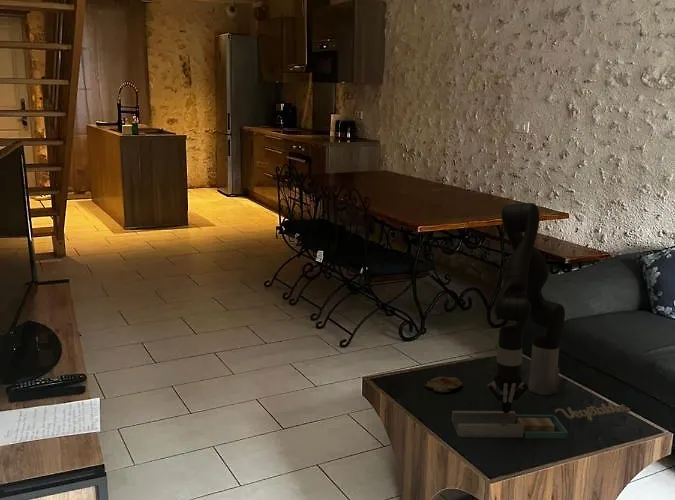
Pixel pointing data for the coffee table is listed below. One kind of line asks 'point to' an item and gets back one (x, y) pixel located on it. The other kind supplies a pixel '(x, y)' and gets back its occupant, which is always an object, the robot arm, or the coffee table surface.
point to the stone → (443, 384)
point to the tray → (561, 434)
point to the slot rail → (486, 424)
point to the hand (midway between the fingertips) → (505, 411)
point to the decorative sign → (592, 410)
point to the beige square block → (528, 424)
